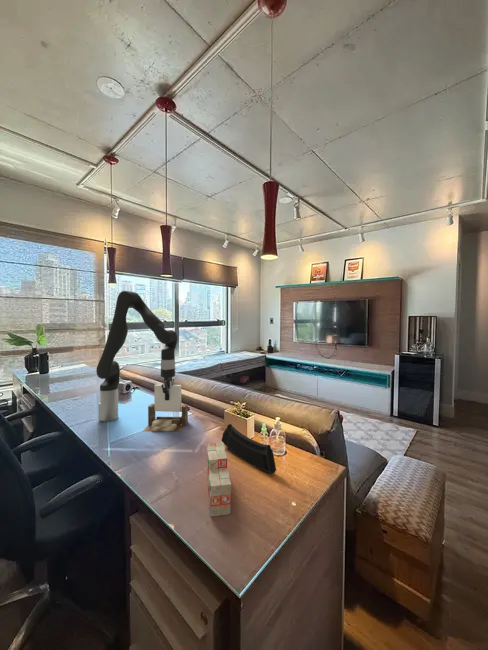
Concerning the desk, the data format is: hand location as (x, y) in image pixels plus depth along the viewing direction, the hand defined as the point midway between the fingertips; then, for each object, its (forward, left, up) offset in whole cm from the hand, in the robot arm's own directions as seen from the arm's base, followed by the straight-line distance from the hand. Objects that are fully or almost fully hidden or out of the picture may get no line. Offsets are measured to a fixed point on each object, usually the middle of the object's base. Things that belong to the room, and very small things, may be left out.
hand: (167, 399), depth 144 cm
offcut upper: (-1, -7, -11) cm, 13 cm away
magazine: (+43, -32, -15) cm, 56 cm away
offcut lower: (0, -7, -13) cm, 15 cm away
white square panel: (0, 0, -6) cm, 6 cm away
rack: (0, -3, -14) cm, 15 cm away
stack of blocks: (+35, -54, -15) cm, 66 cm away
